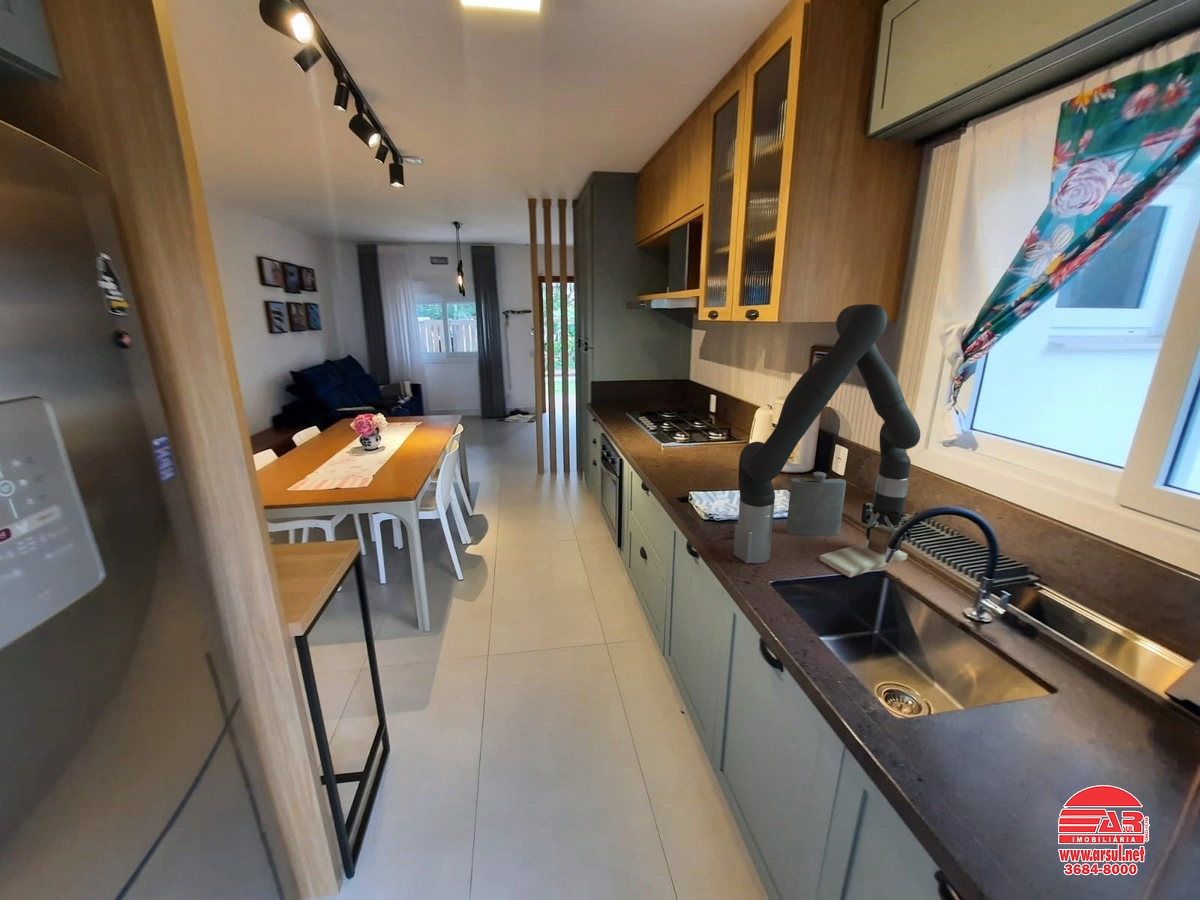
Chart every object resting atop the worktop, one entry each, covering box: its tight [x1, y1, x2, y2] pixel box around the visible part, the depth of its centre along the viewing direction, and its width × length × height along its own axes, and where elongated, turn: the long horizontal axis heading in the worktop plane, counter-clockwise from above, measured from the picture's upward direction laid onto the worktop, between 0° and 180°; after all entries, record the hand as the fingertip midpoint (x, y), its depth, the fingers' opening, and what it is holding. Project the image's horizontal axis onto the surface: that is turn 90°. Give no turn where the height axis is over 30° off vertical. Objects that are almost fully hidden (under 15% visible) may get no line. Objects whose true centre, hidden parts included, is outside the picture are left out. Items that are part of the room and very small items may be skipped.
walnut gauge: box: [868, 524, 892, 554], centre depth 137 cm, size 6×4×6 cm, turn 113°
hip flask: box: [785, 471, 847, 537], centre depth 149 cm, size 16×4×20 cm, turn 84°
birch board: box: [819, 540, 908, 578], centre depth 136 cm, size 22×10×2 cm, turn 113°
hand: (882, 544), depth 138 cm, fingers open, 7 cm apart
